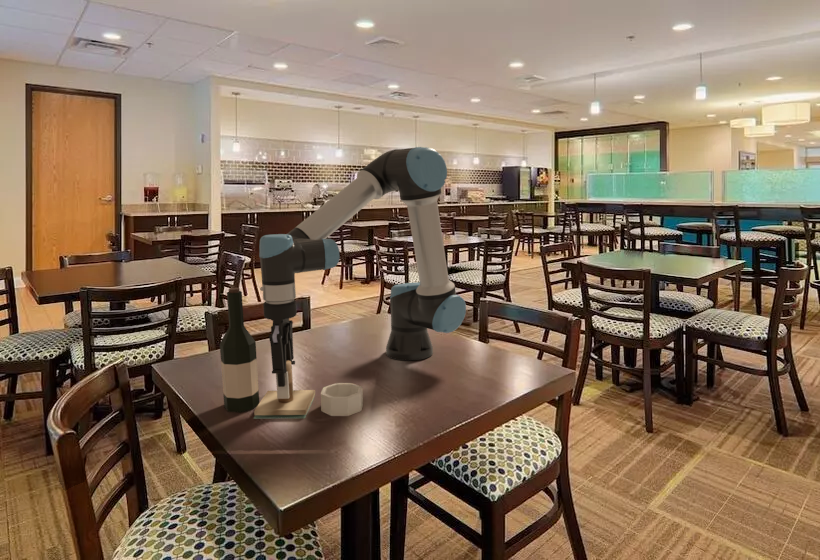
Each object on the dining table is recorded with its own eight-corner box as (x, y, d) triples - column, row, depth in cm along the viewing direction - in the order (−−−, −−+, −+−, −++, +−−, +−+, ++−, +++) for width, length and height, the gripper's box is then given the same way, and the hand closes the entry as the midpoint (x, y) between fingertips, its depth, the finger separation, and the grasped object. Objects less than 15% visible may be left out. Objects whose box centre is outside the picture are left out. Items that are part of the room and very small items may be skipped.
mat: (314, 400, 137) (314, 397, 137) (304, 420, 125) (304, 418, 125) (267, 400, 137) (267, 398, 137) (253, 420, 125) (253, 418, 125)
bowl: (363, 401, 136) (363, 382, 135) (360, 418, 126) (359, 397, 125) (325, 402, 136) (325, 383, 135) (319, 418, 126) (318, 398, 125)
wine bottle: (244, 398, 138) (237, 284, 133) (266, 405, 134) (259, 287, 128) (217, 409, 131) (207, 289, 126) (239, 417, 127) (230, 293, 122)
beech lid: (315, 394, 137) (313, 354, 135) (305, 414, 125) (303, 370, 123) (268, 395, 137) (265, 355, 135) (254, 415, 125) (251, 371, 123)
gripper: (272, 293, 134) (278, 382, 139) (253, 309, 118) (260, 409, 122) (302, 292, 134) (307, 381, 139) (287, 308, 118) (293, 408, 122)
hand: (285, 394), depth 130 cm, fingers closed on beech lid, 4 cm apart
